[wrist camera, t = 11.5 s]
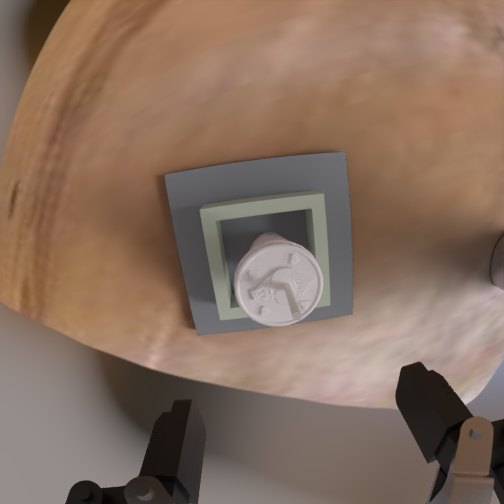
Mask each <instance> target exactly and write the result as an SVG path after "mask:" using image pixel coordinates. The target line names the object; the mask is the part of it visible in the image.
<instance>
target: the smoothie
mask: <svg viewBox="0 0 504 504" xmlns="http://www.w3.org/2000/svg"><path fill="white" fill-rule="evenodd" d="M234 290H235V296H236V300H237V302H238V304H239V306H240V308H241V309H242V310H243V312H244V313H245V314H246V315H247V316H248V317H250V318H251V319H253V320H254V321H256V322H258V323H261V324H264V325H268V326H286V325H290V324H293V323H296V322H298V321H300V320H302V319H303V318H305V317H306V316H307V315H308V314H310V313H311V312H312V311H313V309H314V308H315V307H316V305H317V304H318V302H319V300H320V298H321V295H322V291H323V275H322V272H321V269H320V267H319V265H318V262H317V261H316V259H315V258H314V256H313V255H312V254H311V253H310V252H309V251H308V250H307V249H305V248H304V247H303V246H301V245H299V244H296V243H294V242H291V241H288V240H286V239H285V238H284V237H282V236H281V235H279V234H277V233H275V232H265V233H262V234H260V235H259V236H257V237H256V238H255V239H254V241H253V243H252V245H251V248H250V250H249V252H248V253H246V255H245V256H244V257H243V258H242V260H241V261H240V262H239V264H238V267H237V269H236V272H235V277H234Z"/></svg>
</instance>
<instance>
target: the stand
mask: <svg viewBox="0 0 504 504" xmlns="http://www.w3.org/2000/svg"><path fill="white" fill-rule="evenodd" d="M164 176H165V182H166V189H167V195H168V201H169V206H170V212H171V218H172V223H173V228H174V234H175V239H176V244H177V249H178V254H179V258H180V263H181V268H182V272H183V277H184V282H185V286H186V290H187V295H188V299H189V303H190V307H191V311H192V315H193V319H194V323H195V327H196V331H197V335H206V334H217V333H227V332H236V331H245V330H254V329H262V328H269V327H277V326H268V325H264V324H261V323H258V322H256V321H254V320H253V319H251V318H250V317H248V316H247V315H246V314H245V313H244V312H243V310H242V309H241V308H240V306H239V304H238V302H237V300H236V296H235V290H234V277H235V272H236V269H237V267H238V264H239V262H240V261H241V260H242V258H243V257H244V256H245V255H246V253H248V252H249V250H250V248H251V245H252V243H253V241H254V239H255V238H256V237H257V236H259V235H260V234H262V233H265V232H275V233H277V234H279V235H281V236H282V237H284V238H285V239H286V240H288V241H291V242H294V243H296V244H299V245H301V246H303V247H304V248H305V249H307V250H308V251H309V252H310V253H311V254H312V255H313V256H314V258H315V259H316V261H317V262H318V265H319V267H320V269H321V272H322V275H323V291H322V295H321V298H320V300H319V302H318V304H317V305H316V307H315V308H314V309H313V311H312V312H311V313H310V314H308V315H307V316H306V317H305V318H303V319H302V320H300V321H298V322H296V323H293V324H297V323H304V322H310V321H316V320H322V319H328V318H334V317H339V316H345V315H350V314H353V256H352V229H351V211H350V197H349V185H348V174H347V164H346V155H345V152H334V153H319V154H307V155H295V156H285V157H276V158H267V159H259V160H251V161H243V162H236V163H229V164H222V165H216V166H210V167H204V168H198V169H192V170H187V171H181V172H176V173H171V174H166V175H164ZM290 325H291V324H290Z"/></svg>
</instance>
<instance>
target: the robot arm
mask: <svg viewBox="0 0 504 504" xmlns="http://www.w3.org/2000/svg"><path fill="white" fill-rule="evenodd" d="M491 278H492V281H493V283H494V284H495V285H496V286H498V287H499V288H501V289H502V290H504V235H503V236H502V238H501V239H500V240H499V242H498V244H497V246H496V248H495V250H494V254H493V257H492V262H491ZM395 397H396V403H397V406H398V408H399V410H400V411H401V414H402V415H403V417H404V419H405V421H406V423H407V425H408V427H409V429H410V430H411V432H412V434H413V436H414V438H415V440H416V442H417V444H418V446H419V447H420V449H421V452H422V453H423V455H424V457H425V459H426V461H427V463H430V462H433V461H435V460H438V462H439V465H438V468H437V471H436V474H435V477H434V481H433V484H432V487H431V490H430V493H429V496H428V498H427V501H426V504H490V502H491V497H492V492H493V489H494V491H495V493H496V495H497V497H498V499H499V501H500V504H504V419H502V420H498V421H493V422H490V421H489V420H487V419H485V418H483V417H474V416H473V415H472V414H471V413H470V411H469V410H468V409H467V407H466V406H465V405H464V403H463V402H462V401H461V399H460V398H459V397H458V395H457V394H456V393H455V392H454V390H453V389H452V388H451V386H449V384H448V382H447V381H446V380H445V379H444V377H443V376H442V375H440V374H439V373H437V372H435V371H433V370H430V371H428V370H427V369H426V368H425V366H424V365H423V364H422V363H421V362H416V363H413V364H410V365H406V366H403V367H402V368H401V371H400V376H399V381H398V385H397V389H396V395H395ZM205 441H206V428H205V424H204V421H203V418H202V416H201V413H200V410H199V408H198V405H197V403H196V401H195V400H194V399H183V400H182V399H181V400H175V401H174V403H173V406H172V410H171V412H163V413H162V414H161V416H160V417H159V418H158V419H157V420H156V422H155V424H154V428H153V431H152V434H151V437H150V443H149V444H148V447H147V450H146V454H145V457H144V461H143V464H142V467H141V471H140V474H139V475H138V477H135V478H133V479H132V480H130V481H129V482H128V483H127V484H126V485H125V486H120V487H110V488H100V487H99V486H98V485H97V484H96V483H94V482H92V481H87V480H86V481H80V482H78V483H76V484H74V485H73V487H72V488H71V489H70V492H69V495H68V497H67V500H66V503H65V504H198V497H199V489H200V481H201V473H202V465H203V457H204V449H205Z"/></svg>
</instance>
